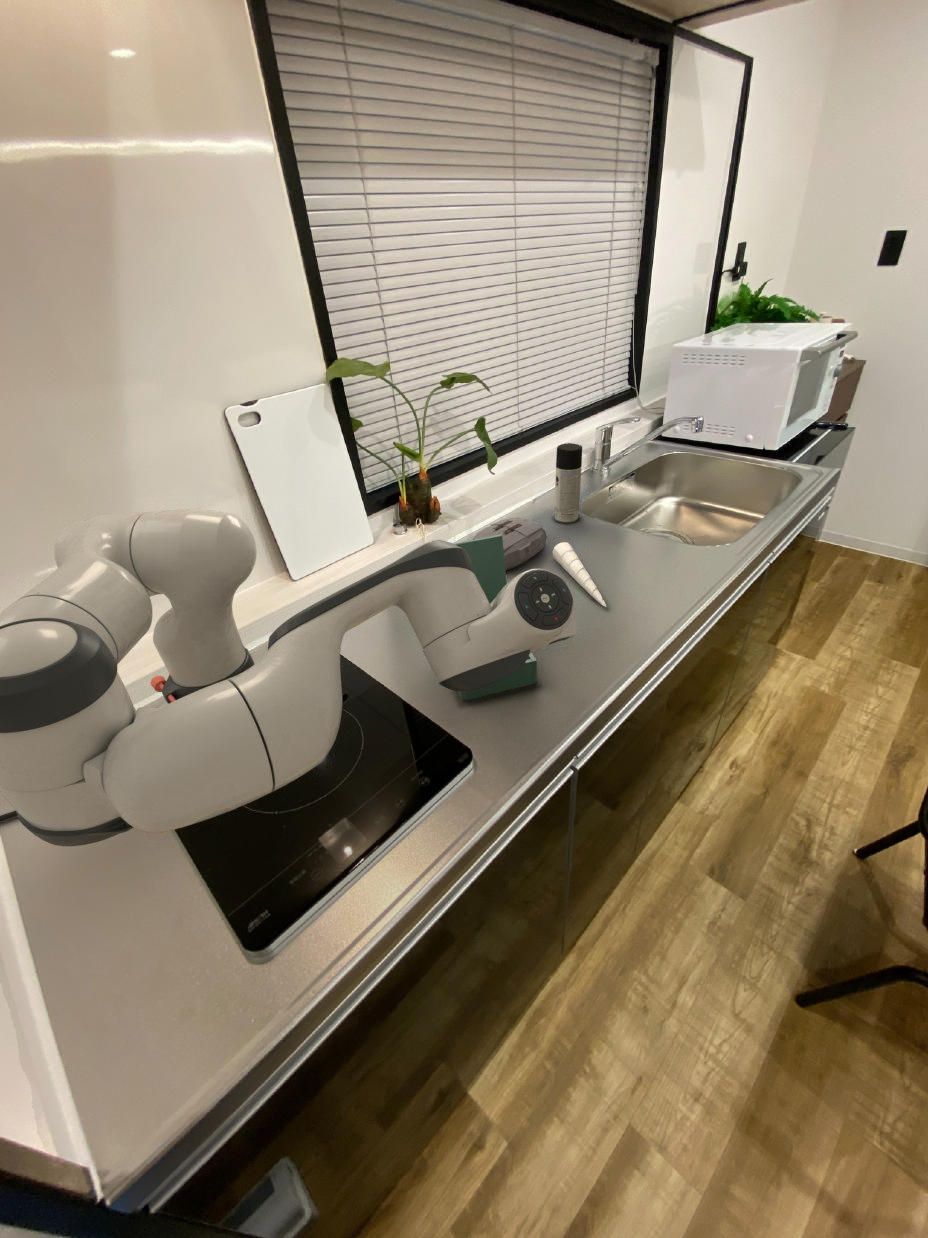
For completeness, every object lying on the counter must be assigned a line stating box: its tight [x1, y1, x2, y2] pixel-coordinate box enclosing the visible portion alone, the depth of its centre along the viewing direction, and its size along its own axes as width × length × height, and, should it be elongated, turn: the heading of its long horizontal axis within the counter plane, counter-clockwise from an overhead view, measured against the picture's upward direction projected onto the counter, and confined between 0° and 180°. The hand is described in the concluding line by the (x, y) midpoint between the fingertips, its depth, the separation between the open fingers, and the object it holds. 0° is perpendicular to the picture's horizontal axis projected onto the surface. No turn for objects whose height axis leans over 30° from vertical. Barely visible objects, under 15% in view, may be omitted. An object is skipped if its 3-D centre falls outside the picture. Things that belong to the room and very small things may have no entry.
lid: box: [453, 535, 508, 604], centre depth 97 cm, size 15×14×1 cm
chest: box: [457, 652, 538, 702], centre depth 96 cm, size 15×14×6 cm
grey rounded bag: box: [472, 517, 548, 571], centre depth 132 cm, size 15×8×20 cm
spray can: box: [554, 442, 583, 524], centre depth 143 cm, size 7×7×20 cm
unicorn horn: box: [552, 541, 607, 608], centre depth 119 cm, size 5×24×5 cm, turn 11°
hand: (495, 641), depth 87 cm, fingers open, 8 cm apart
